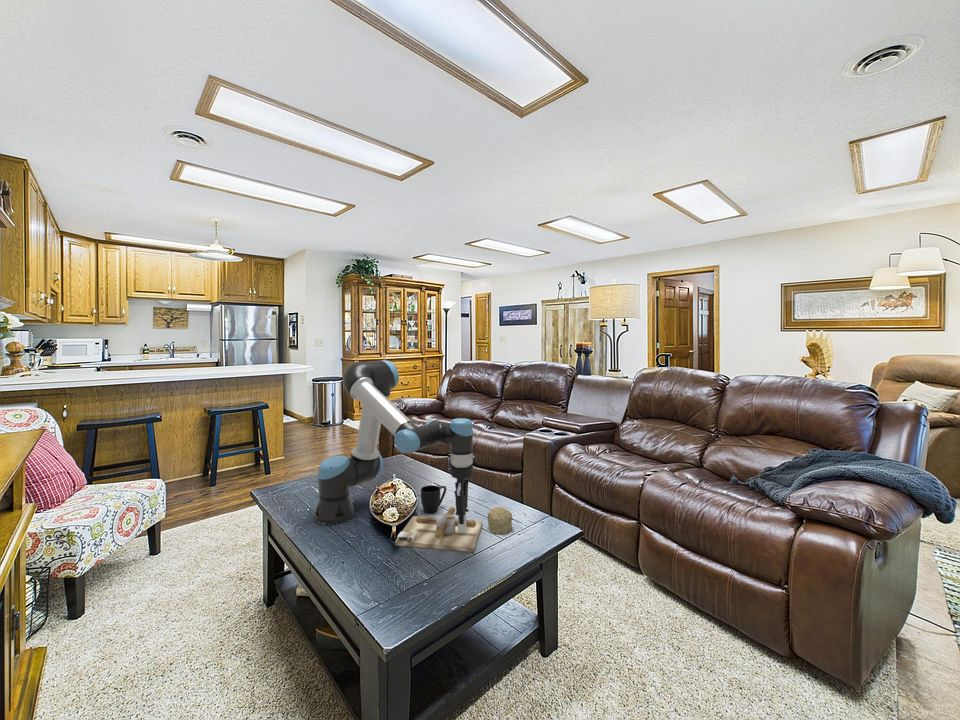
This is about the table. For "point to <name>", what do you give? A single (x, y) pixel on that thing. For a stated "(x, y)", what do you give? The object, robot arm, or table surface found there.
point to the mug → (431, 498)
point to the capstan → (444, 523)
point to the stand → (426, 538)
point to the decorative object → (499, 520)
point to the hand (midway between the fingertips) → (462, 531)
